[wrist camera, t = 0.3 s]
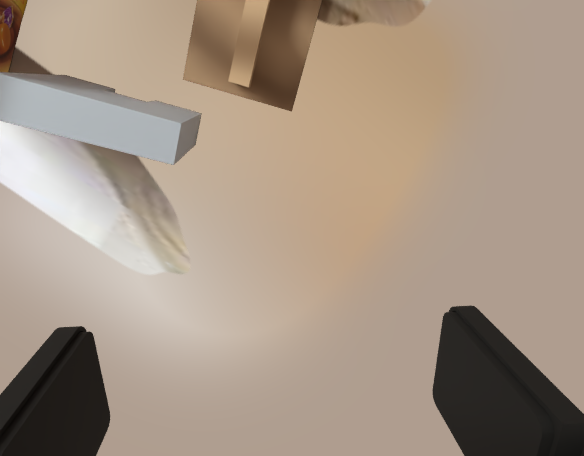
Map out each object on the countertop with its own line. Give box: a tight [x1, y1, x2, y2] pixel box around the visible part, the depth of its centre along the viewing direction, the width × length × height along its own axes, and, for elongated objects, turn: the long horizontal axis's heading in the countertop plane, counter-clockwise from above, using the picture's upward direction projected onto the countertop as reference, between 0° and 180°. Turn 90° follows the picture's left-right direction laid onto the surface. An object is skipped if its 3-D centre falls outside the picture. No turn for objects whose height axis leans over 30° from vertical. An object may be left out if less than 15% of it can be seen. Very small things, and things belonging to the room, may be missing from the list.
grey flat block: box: [0, 72, 201, 165], centre depth 31 cm, size 3×12×10 cm, turn 74°
